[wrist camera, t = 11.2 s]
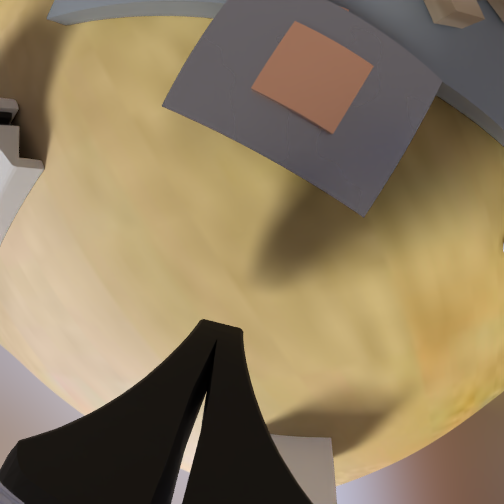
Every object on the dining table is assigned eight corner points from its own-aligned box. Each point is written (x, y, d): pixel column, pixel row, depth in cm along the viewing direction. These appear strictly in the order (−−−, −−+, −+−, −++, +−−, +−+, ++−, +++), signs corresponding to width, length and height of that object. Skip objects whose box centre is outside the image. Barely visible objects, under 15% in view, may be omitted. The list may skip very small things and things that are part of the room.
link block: (383, 97, 8) (449, 78, 4) (330, 186, 9) (367, 221, 5) (260, 27, 7) (250, -36, 3) (205, 117, 9) (155, 105, 5)
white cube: (305, 465, 18) (305, 523, 13) (235, 459, 18) (227, 519, 13) (331, 436, 16) (337, 509, 10) (247, 429, 16) (237, 507, 10)
